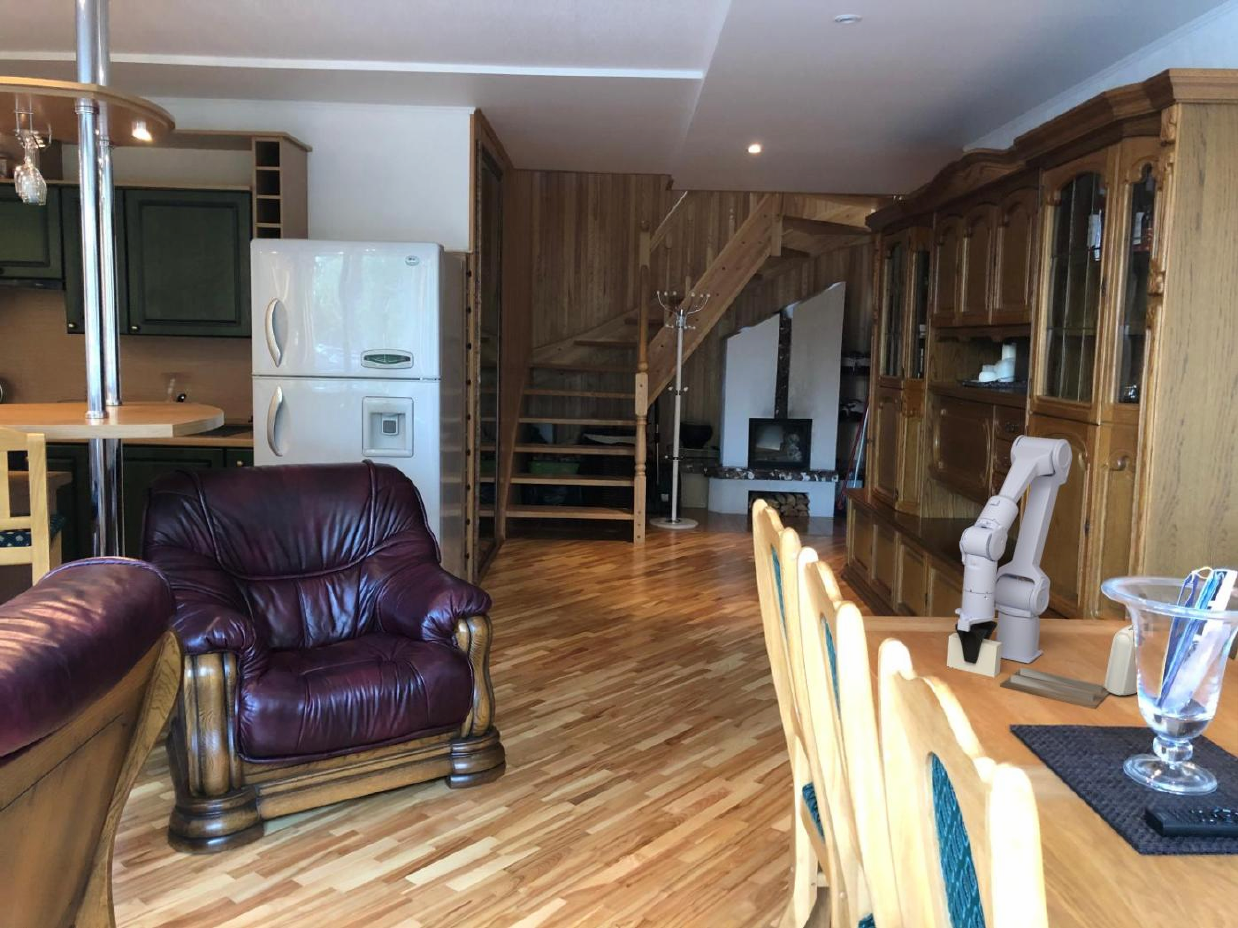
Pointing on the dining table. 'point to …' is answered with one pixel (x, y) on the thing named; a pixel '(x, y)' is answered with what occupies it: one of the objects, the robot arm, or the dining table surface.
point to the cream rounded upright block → (1121, 664)
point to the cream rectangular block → (986, 659)
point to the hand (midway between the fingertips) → (973, 659)
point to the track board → (1057, 687)
